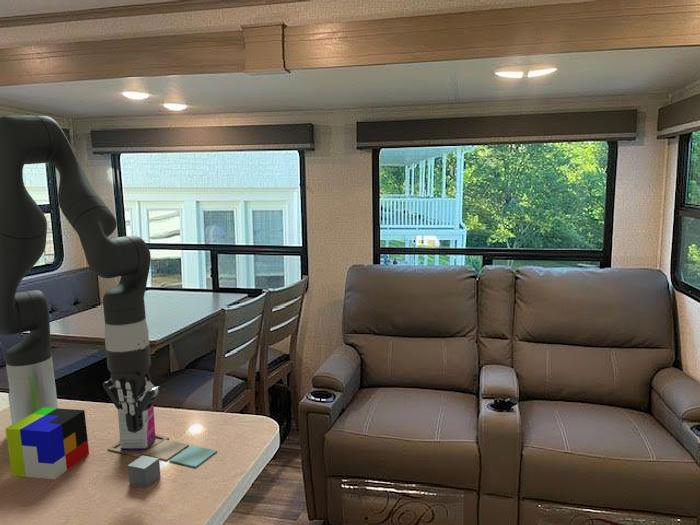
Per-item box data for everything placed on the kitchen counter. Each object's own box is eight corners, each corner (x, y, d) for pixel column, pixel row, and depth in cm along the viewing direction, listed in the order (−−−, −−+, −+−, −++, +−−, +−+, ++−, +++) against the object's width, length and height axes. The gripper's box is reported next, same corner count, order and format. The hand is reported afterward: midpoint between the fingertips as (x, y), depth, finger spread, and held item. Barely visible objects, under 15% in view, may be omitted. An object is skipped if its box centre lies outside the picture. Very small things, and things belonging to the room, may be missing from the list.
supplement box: (147, 450, 115) (142, 400, 113) (119, 451, 115) (114, 401, 113) (157, 437, 120) (152, 389, 119) (131, 438, 120) (126, 390, 119)
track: (107, 450, 115) (107, 448, 115) (139, 432, 123) (138, 430, 123) (192, 470, 106) (191, 469, 106) (220, 449, 114) (220, 448, 114)
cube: (129, 484, 102) (127, 465, 101) (144, 474, 106) (142, 455, 105) (146, 488, 100) (144, 468, 100) (160, 477, 104) (158, 458, 104)
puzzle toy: (54, 479, 104) (49, 431, 103) (11, 475, 106) (5, 428, 105) (89, 454, 114) (84, 410, 113) (49, 450, 116) (43, 407, 115)
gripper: (85, 345, 98) (94, 433, 101) (139, 353, 93) (147, 446, 96) (117, 334, 105) (125, 416, 108) (169, 341, 100) (176, 428, 102)
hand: (135, 430), depth 102 cm, fingers closed
